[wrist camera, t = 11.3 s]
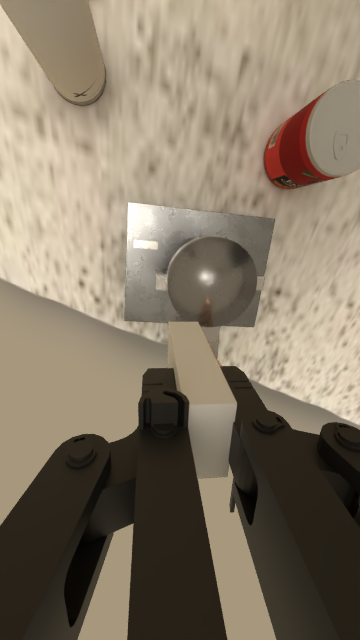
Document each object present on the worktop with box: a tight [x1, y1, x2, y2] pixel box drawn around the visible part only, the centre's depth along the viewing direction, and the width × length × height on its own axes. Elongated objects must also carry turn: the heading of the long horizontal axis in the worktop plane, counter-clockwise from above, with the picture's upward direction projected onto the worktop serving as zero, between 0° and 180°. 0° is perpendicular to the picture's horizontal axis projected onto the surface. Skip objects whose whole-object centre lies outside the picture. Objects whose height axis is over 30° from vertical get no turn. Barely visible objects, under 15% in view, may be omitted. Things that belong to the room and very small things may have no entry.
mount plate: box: [124, 202, 275, 327], centre depth 36 cm, size 20×16×8 cm
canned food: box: [264, 80, 360, 189], centre depth 31 cm, size 8×8×11 cm
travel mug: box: [0, 0, 106, 105], centre depth 21 cm, size 6×7×20 cm
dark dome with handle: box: [156, 236, 265, 366], centre depth 30 cm, size 18×12×9 cm
